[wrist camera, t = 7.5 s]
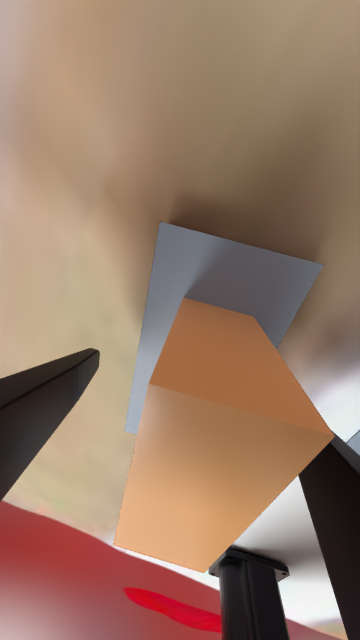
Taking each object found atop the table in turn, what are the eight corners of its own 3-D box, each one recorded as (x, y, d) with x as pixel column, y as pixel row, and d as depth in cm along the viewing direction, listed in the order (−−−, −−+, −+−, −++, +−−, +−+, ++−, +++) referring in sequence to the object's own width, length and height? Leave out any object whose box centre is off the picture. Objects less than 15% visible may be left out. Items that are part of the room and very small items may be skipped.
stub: (215, 441, 12) (223, 605, 7) (130, 417, 12) (69, 558, 7) (308, 261, 7) (644, 318, 2) (165, 224, 7) (47, 162, 2)
